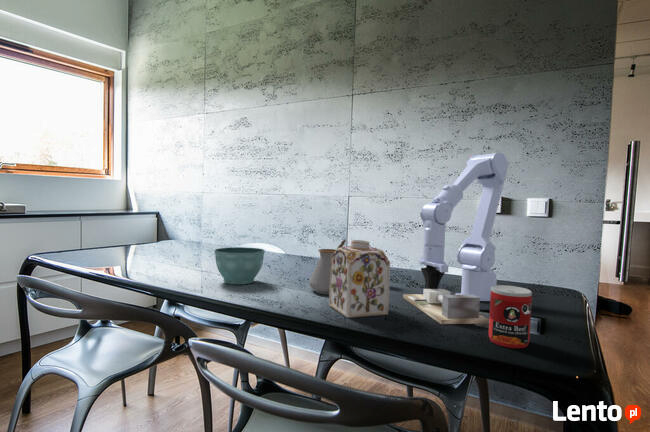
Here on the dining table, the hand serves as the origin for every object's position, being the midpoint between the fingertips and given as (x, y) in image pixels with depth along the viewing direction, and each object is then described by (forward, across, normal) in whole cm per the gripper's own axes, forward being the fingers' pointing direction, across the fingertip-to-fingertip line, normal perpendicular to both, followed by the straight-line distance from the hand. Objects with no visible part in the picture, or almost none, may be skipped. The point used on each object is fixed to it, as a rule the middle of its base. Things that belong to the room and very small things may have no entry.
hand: (431, 293), depth 110 cm
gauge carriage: (+2, +6, -2) cm, 6 cm away
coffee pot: (+3, -18, -25) cm, 31 cm away
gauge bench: (+3, +6, 0) cm, 7 cm away
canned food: (+3, +31, +3) cm, 31 cm away
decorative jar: (+3, +7, -23) cm, 24 cm away
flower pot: (+3, -27, -55) cm, 62 cm away
